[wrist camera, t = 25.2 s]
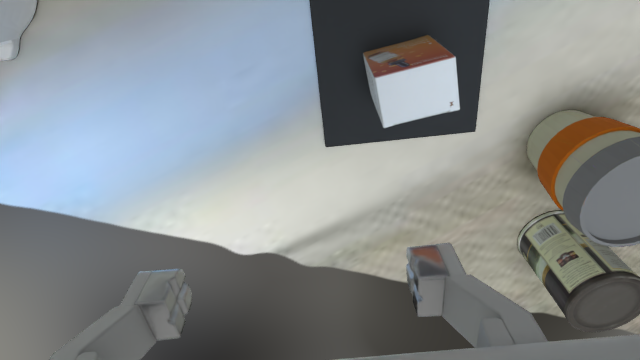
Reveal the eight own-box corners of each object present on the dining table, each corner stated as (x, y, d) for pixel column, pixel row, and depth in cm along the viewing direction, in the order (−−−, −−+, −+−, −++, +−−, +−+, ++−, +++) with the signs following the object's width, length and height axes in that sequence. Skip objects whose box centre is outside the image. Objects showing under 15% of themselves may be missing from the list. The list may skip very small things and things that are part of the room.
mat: (325, 145, 52) (325, 147, 52) (307, -19, 42) (307, -19, 42) (473, 129, 52) (475, 131, 51) (491, -41, 41) (494, -41, 41)
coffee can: (557, 266, 65) (614, 339, 53) (504, 252, 63) (550, 324, 51) (598, 219, 60) (671, 287, 48) (542, 202, 58) (602, 269, 46)
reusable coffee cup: (546, 195, 57) (614, 265, 44) (494, 146, 53) (553, 209, 40) (626, 135, 52) (728, 194, 40) (576, 76, 48) (672, 122, 35)
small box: (428, 33, 45) (458, 54, 36) (433, 80, 47) (462, 110, 38) (361, 51, 46) (373, 76, 37) (369, 96, 48) (383, 129, 39)
